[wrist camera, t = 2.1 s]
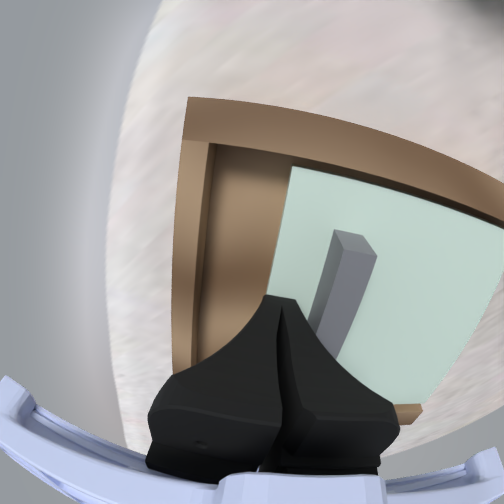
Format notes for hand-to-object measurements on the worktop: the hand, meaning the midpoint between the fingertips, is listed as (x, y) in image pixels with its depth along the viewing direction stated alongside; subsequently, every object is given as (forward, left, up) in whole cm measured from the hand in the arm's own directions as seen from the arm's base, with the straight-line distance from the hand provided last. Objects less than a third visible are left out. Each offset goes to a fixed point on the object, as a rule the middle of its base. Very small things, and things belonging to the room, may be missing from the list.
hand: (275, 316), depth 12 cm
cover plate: (0, -5, -2) cm, 6 cm away
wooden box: (0, -3, -3) cm, 5 cm away
